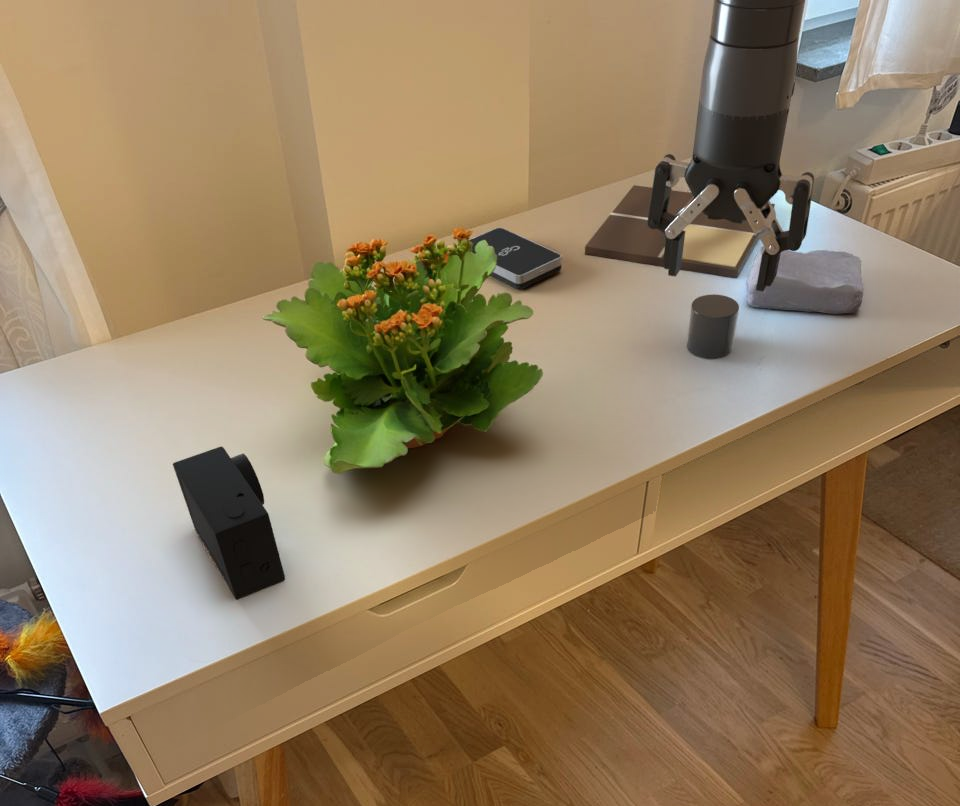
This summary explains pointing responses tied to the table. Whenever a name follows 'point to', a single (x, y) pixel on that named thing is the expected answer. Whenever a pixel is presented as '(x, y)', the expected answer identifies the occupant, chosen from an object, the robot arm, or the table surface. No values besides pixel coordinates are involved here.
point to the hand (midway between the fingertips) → (717, 280)
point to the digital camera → (231, 518)
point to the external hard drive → (519, 258)
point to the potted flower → (407, 346)
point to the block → (810, 282)
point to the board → (632, 240)
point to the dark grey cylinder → (712, 326)
